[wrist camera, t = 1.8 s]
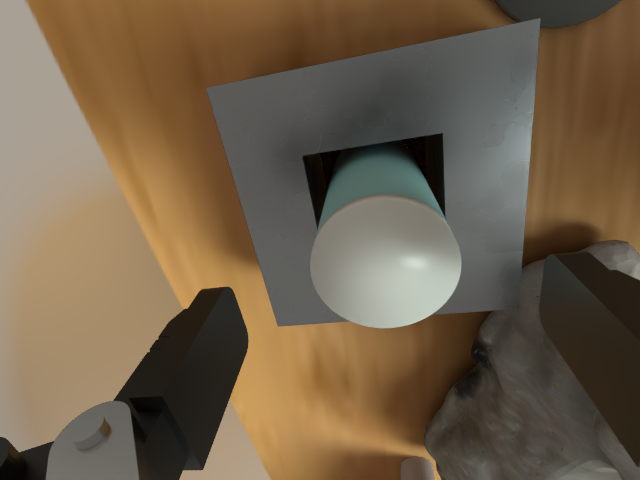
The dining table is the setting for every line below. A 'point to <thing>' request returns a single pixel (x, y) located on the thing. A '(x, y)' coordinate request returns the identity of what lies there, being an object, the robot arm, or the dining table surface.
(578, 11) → the coaster
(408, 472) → the grey piece
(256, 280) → the dining table surface
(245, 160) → the housing
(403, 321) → the teal canister
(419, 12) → the dining table surface
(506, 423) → the sculpture
